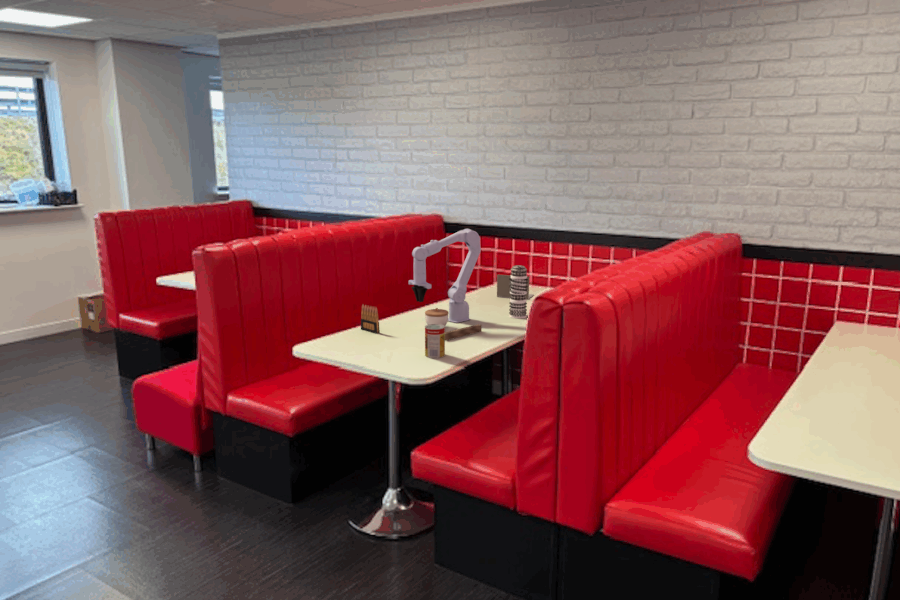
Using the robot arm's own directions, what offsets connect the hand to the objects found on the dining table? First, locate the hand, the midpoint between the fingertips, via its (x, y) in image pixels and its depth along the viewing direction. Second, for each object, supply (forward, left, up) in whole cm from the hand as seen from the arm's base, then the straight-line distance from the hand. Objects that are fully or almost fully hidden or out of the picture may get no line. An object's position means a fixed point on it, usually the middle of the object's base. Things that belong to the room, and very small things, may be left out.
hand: (419, 301), depth 322 cm
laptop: (-77, -10, -11) cm, 78 cm away
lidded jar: (0, +12, -11) cm, 16 cm away
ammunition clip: (+26, -4, -11) cm, 28 cm away
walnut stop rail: (0, +29, -10) cm, 31 cm away
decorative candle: (-44, +22, -11) cm, 50 cm away
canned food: (+28, +43, -11) cm, 52 cm away
